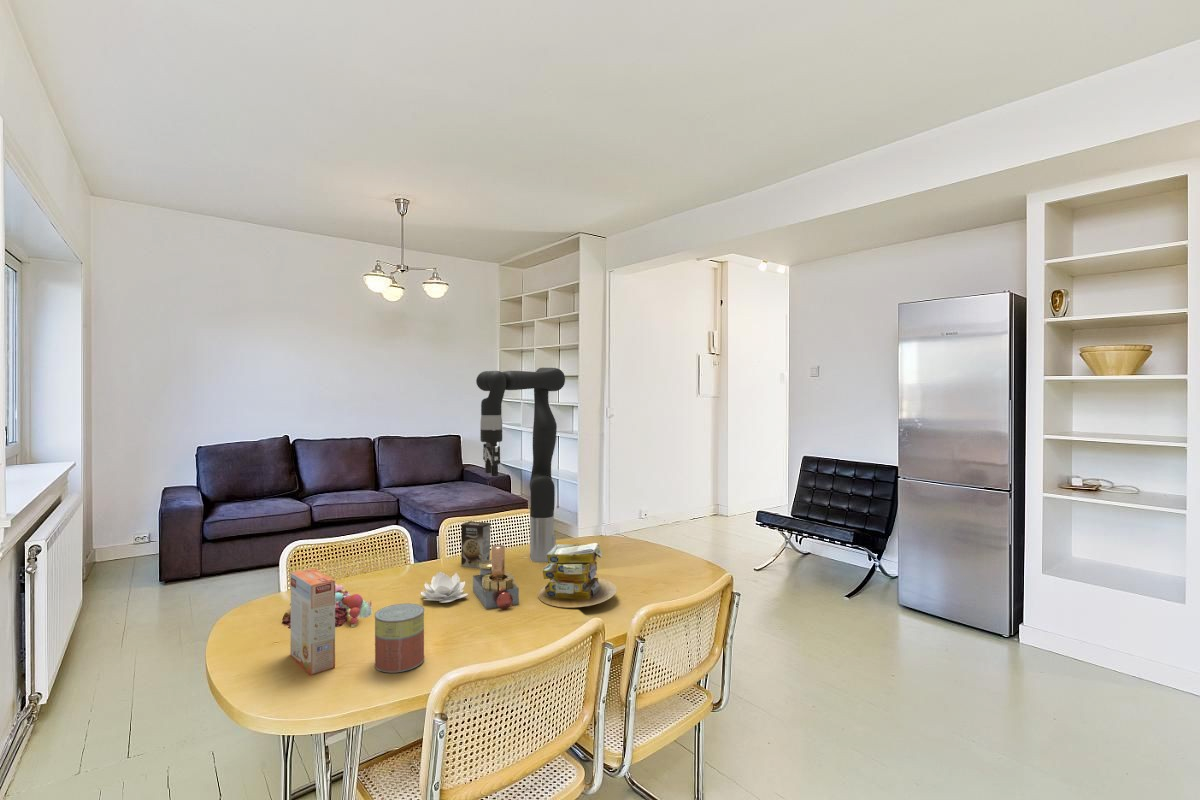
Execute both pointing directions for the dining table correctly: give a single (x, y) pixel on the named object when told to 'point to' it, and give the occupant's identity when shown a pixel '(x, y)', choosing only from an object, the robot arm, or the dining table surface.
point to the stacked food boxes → (574, 577)
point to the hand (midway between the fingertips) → (491, 474)
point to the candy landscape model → (342, 608)
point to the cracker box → (313, 620)
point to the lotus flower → (444, 588)
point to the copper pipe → (498, 562)
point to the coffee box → (475, 543)
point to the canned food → (399, 637)
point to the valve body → (495, 588)
